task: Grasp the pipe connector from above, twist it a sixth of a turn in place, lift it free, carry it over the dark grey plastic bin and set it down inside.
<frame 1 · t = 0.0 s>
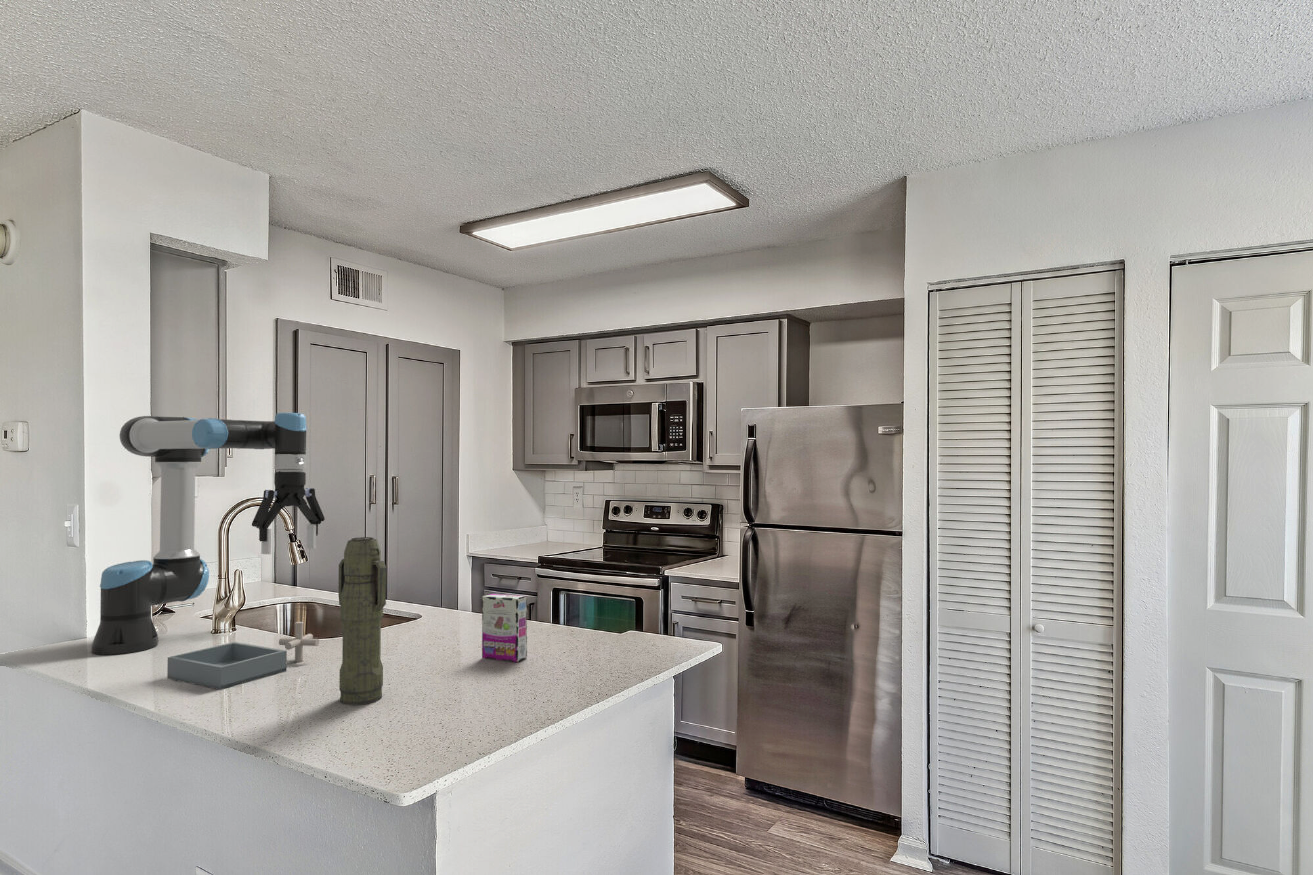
hand: (289, 551, 203), 28 cm above the worktop, tool pointing down, fingers open, 13 cm apart
bin: (227, 674, 186), on the worktop
candy bar box: (504, 659, 201), on the worktop
pipe connector: (298, 662, 198), on the worktop
thermos: (361, 699, 167), on the worktop
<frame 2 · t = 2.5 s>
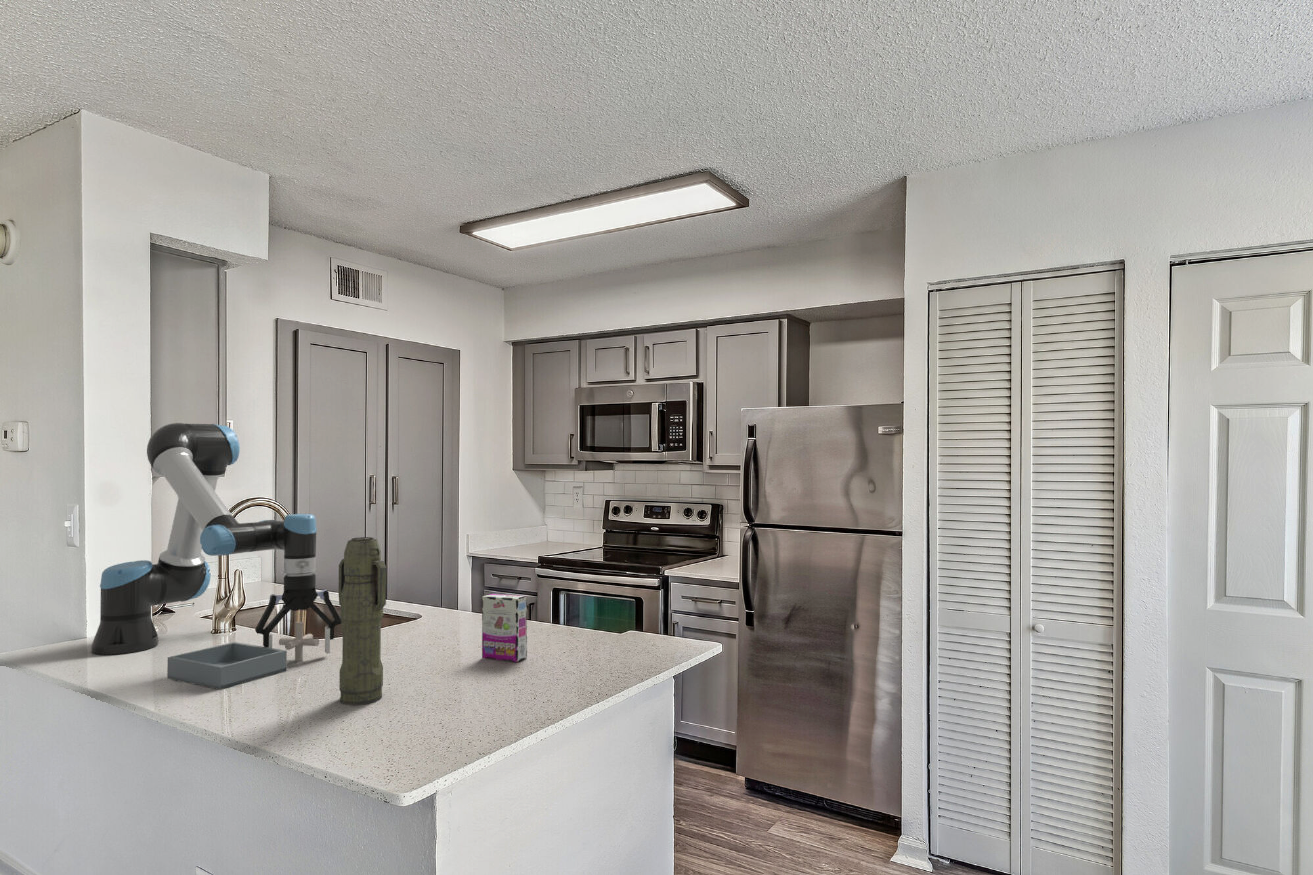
hand: (299, 656, 198), 1 cm above the worktop, tool pointing down, fingers open, 13 cm apart
nothing on the worktop moved.
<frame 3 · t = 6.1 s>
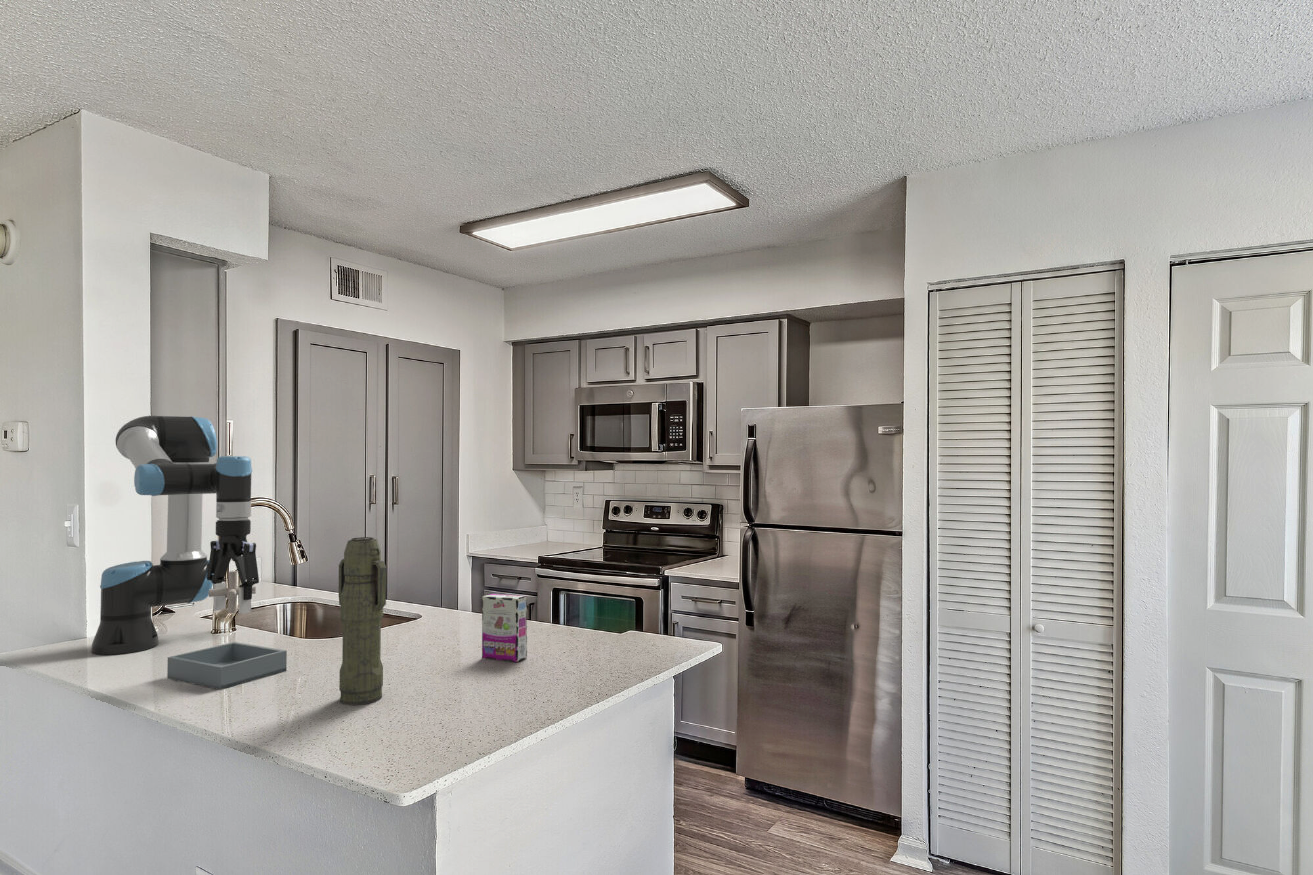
hand: (232, 611, 187), 15 cm above the worktop, tool pointing down, fingers closed on pipe connector, 9 cm apart
pipe connector: (232, 613, 187), point 15 cm above the worktop, touching gripper
everything else where it was.
when the fingers open (3 cm above the worktop, at t = 8.9 s): pipe connector drops 2 cm, resting on bin.
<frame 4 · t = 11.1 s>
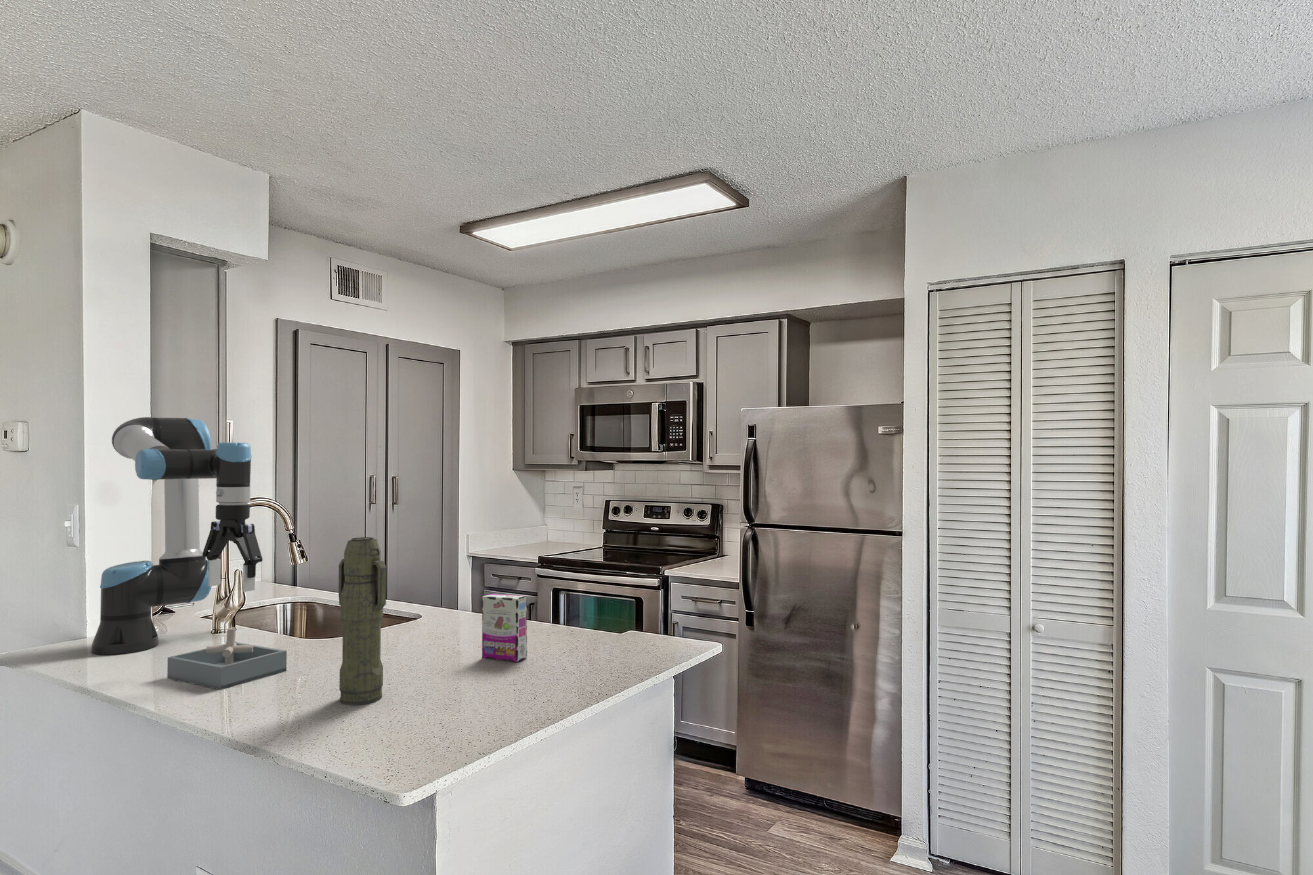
hand: (231, 588, 192), 20 cm above the worktop, tool pointing down, fingers open, 13 cm apart
pipe connector: (227, 671, 186), point 1 cm above the worktop, touching bin
everything else where it was.
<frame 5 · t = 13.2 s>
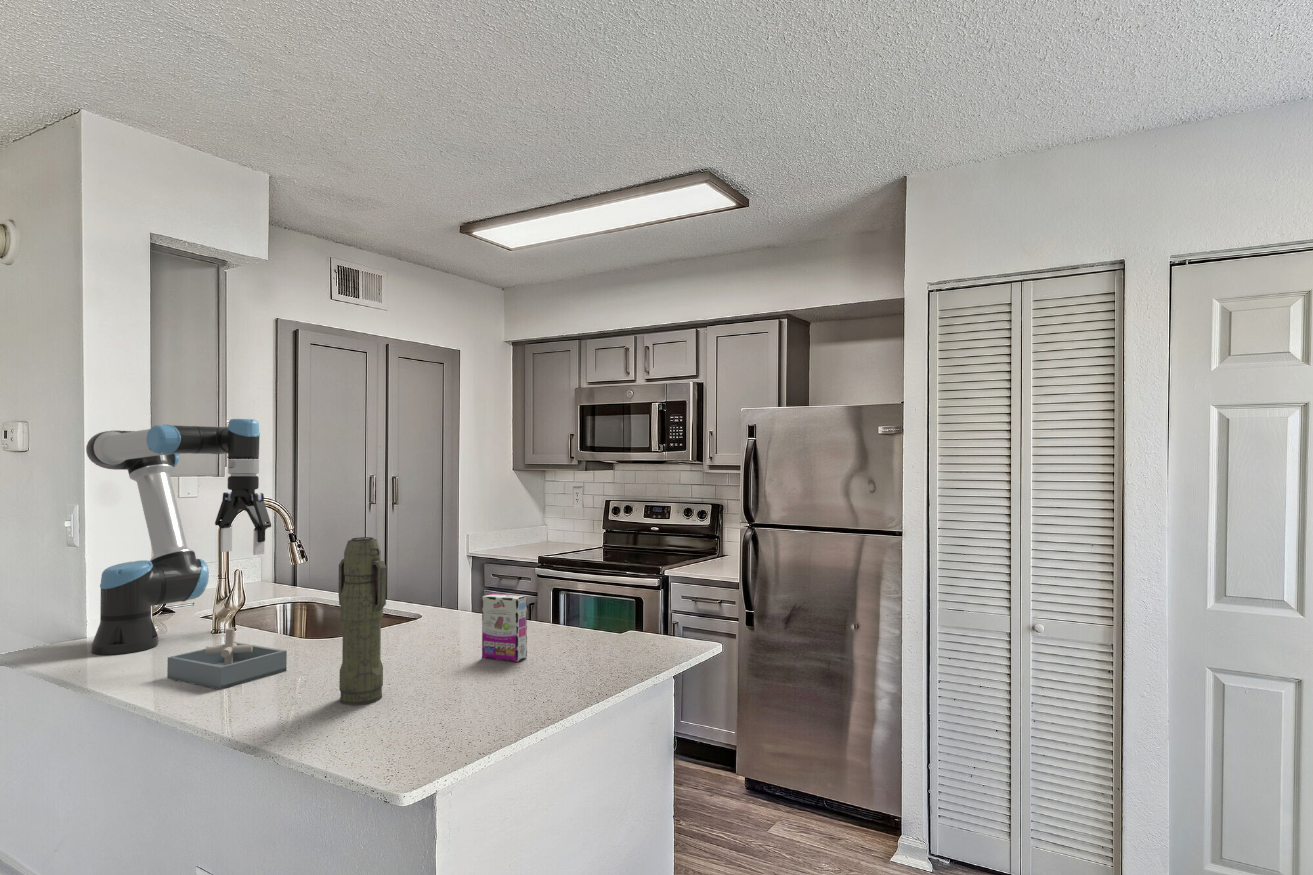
hand: (242, 553, 209), 27 cm above the worktop, tool pointing down, fingers open, 13 cm apart
nothing on the worktop moved.
at the end: pipe connector inside the target area on the bin (0.2 cm from its centre), point 0.6 cm above the bin's base; the gripper is holding nothing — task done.
